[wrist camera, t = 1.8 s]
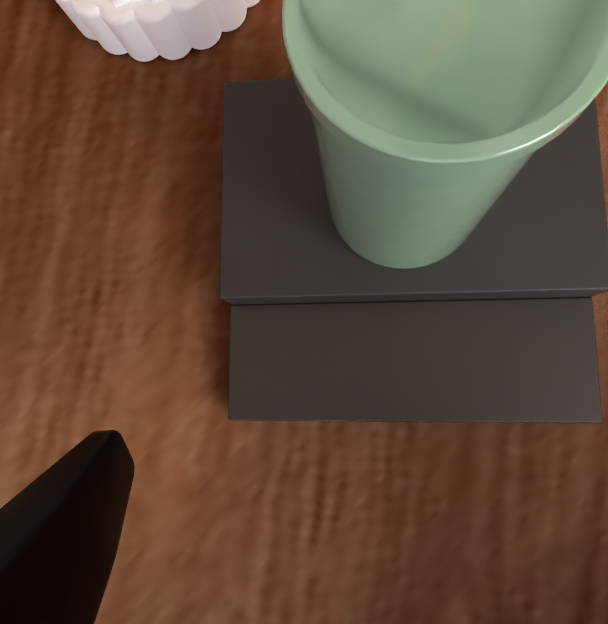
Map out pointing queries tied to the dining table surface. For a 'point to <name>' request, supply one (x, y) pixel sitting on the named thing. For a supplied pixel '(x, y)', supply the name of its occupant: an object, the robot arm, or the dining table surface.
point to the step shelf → (406, 288)
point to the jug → (436, 107)
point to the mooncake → (155, 24)
